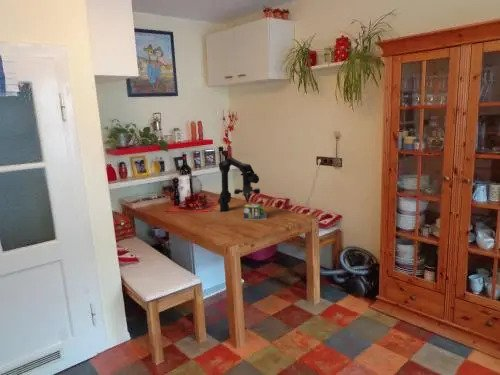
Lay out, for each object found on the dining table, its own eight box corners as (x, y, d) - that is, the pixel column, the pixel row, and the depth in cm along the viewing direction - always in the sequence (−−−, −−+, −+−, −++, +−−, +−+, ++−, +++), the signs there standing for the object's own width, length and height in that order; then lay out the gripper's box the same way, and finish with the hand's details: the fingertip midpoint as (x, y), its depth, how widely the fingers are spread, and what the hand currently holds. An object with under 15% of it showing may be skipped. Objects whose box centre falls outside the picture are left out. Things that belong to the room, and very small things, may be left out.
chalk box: (246, 215, 278) (266, 216, 274) (243, 218, 269) (263, 219, 266) (246, 203, 276) (265, 204, 272) (243, 206, 267) (263, 207, 264)
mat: (244, 220, 267) (244, 219, 267) (245, 214, 282) (245, 213, 282) (266, 219, 266) (266, 219, 266) (266, 213, 281) (266, 213, 281)
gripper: (233, 184, 262) (234, 205, 265) (259, 183, 261) (260, 204, 264) (234, 181, 273) (235, 201, 276) (259, 180, 271) (260, 201, 275)
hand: (247, 202), depth 272 cm, fingers closed
